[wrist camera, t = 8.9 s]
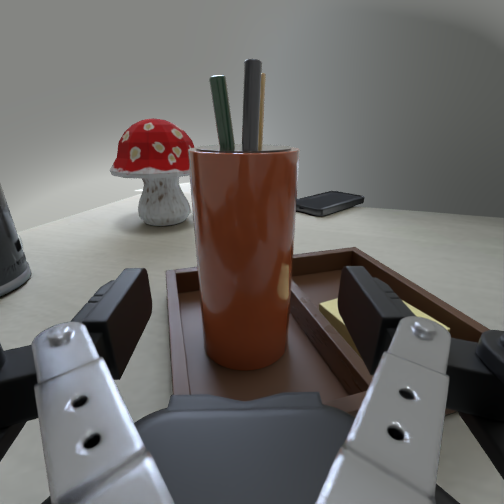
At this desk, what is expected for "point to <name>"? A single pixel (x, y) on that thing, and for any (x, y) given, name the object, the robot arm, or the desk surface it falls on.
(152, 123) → the decorative mushroom
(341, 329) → the note pad
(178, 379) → the tray
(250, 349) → the pencil cup
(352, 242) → the desk surface
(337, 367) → the divider
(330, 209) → the phone
